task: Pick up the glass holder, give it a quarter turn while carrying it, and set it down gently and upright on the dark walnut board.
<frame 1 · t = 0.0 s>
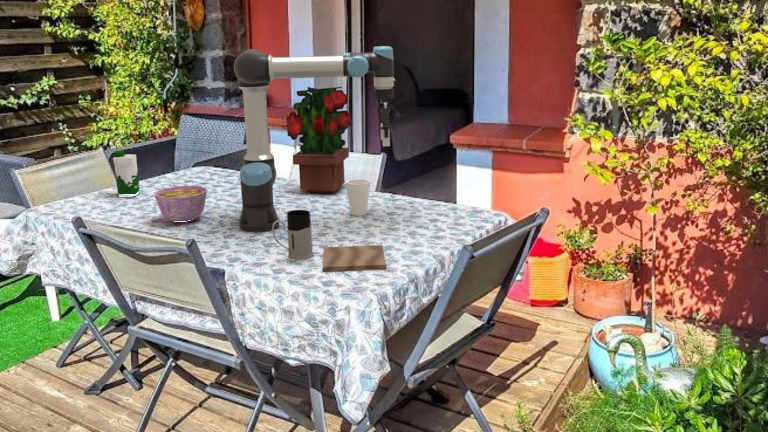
hand: (385, 142, 303), 28 cm above the table, tool pointing down, fingers open, 13 cm apart
walnut board: (353, 259, 256), on the table
bowl of food: (183, 220, 306), on the table
foam cup: (358, 214, 310), on the table
potted plant: (323, 190, 347), on the table
mojito glass: (129, 196, 346), on the table
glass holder: (293, 258, 260), on the table
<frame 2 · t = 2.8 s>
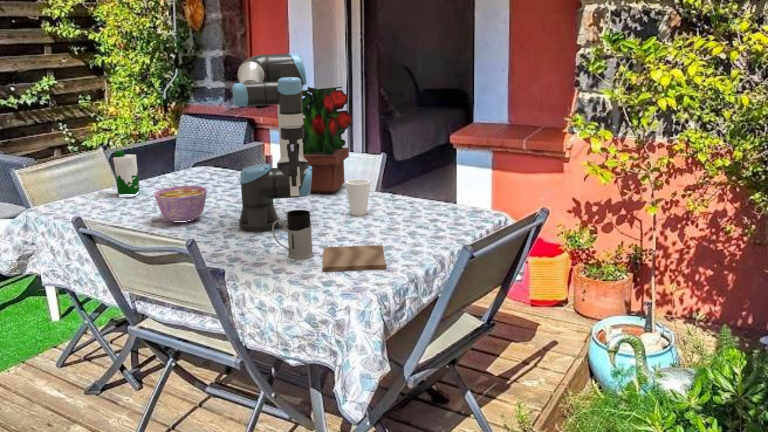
hand: (295, 190, 256), 22 cm above the table, tool pointing down, fingers open, 13 cm apart
nothing on the table moved.
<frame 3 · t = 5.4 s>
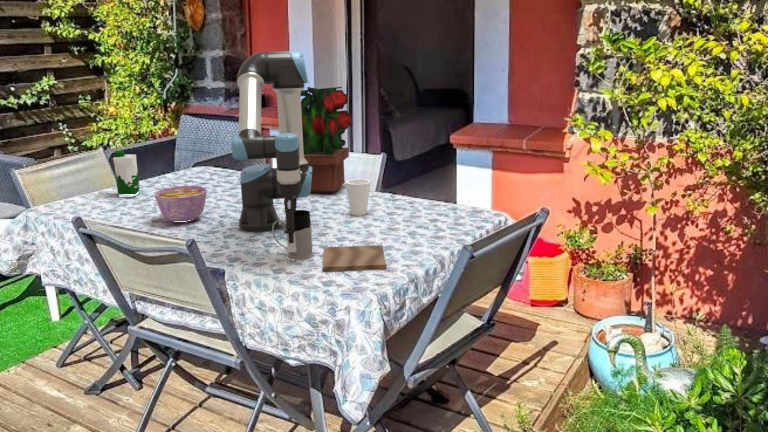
hand: (293, 246, 259), 4 cm above the table, tool pointing down, fingers open, 10 cm apart
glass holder: (293, 258, 260), on the table, touching gripper
everything else where it was.
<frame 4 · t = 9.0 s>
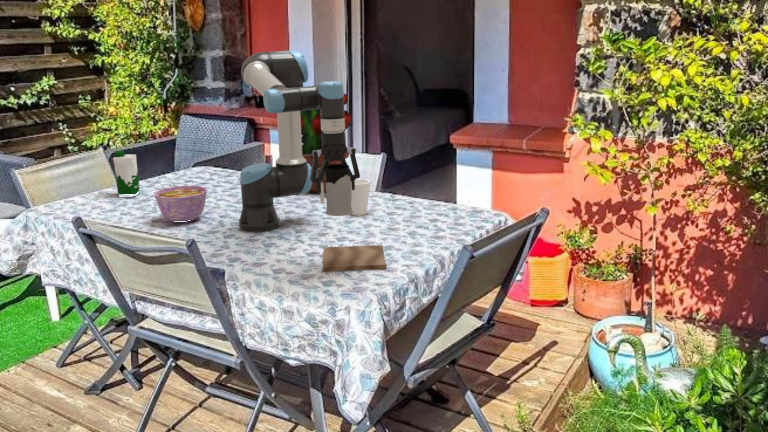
hand: (336, 201, 251), 20 cm above the table, tool pointing down, fingers closed on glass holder, 8 cm apart
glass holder: (333, 211, 251), point 17 cm above the table, touching gripper
everything else where it was.
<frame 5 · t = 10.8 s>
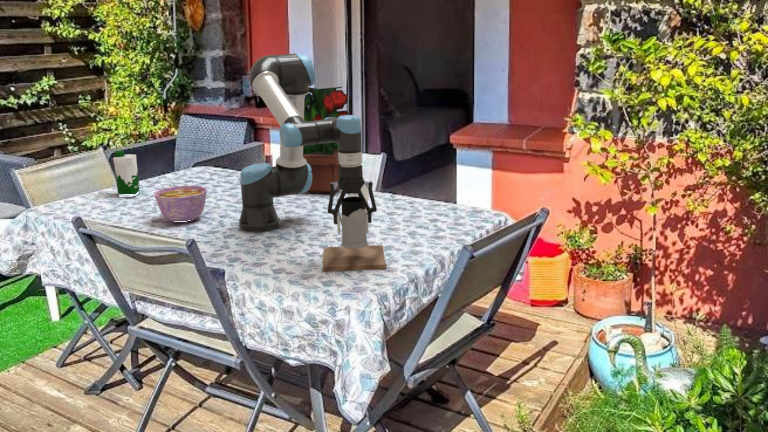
hand: (353, 233, 253), 9 cm above the table, tool pointing down, fingers closed on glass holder, 8 cm apart
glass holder: (350, 242, 254), point 6 cm above the table, touching gripper
everything else where it was.
when the fingers open (6 cm above the table, at t = 12.2 s): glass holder drops 2 cm, resting on walnut board.
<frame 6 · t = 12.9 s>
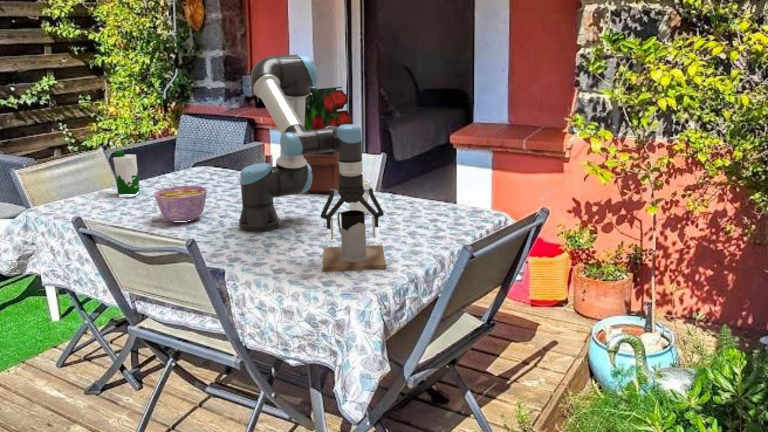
hand: (353, 237, 254), 8 cm above the table, tool pointing down, fingers open, 13 cm apart
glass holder: (350, 256, 256), point 1 cm above the table, touching walnut board
everything else where it was.
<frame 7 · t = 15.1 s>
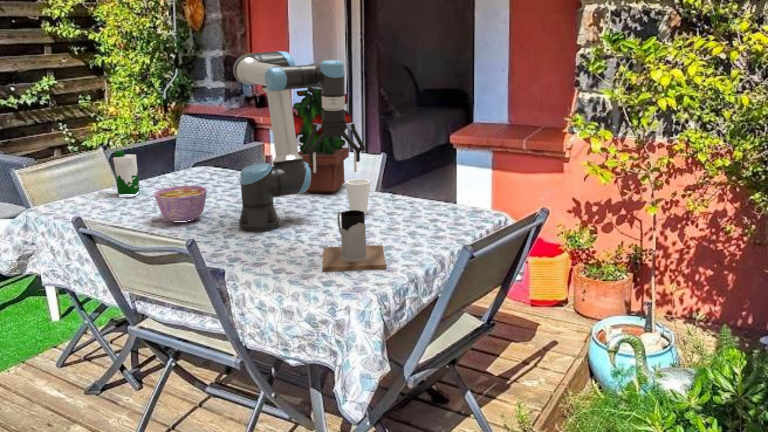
hand: (335, 171, 262), 27 cm above the table, tool pointing down, fingers open, 13 cm apart
nothing on the table moved.
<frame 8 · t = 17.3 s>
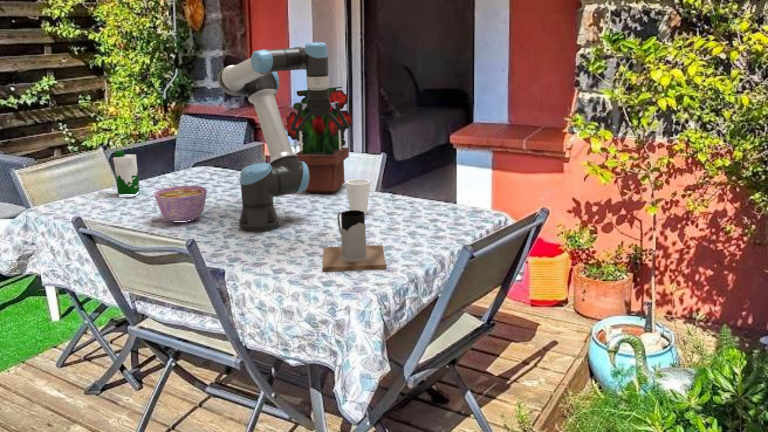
hand: (320, 149, 273), 32 cm above the table, tool pointing down, fingers open, 13 cm apart
nothing on the table moved.
at the end: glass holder inside the target area on the walnut board (1.2 cm from its centre), point 1.3 cm above the walnut board's base; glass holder tilted 0°; the gripper is holding nothing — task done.
